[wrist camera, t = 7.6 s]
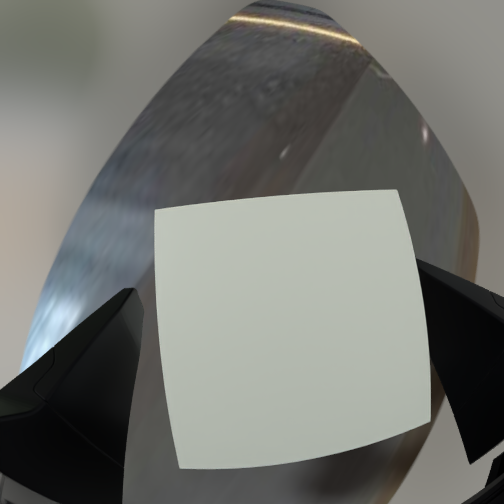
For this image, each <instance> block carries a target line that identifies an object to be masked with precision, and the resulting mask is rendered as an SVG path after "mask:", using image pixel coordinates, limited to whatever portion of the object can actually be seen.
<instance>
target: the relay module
mask: <svg viewBox="0 0 504 504" xmlns="http://www.w3.org/2000/svg"><path fill="white" fill-rule="evenodd" d="M155 281H156V302H157V317H158V330H159V341H160V351H161V360H162V369H163V377H164V384H165V392H166V398H167V405H168V411H169V417H170V423H171V428H172V434H173V439H174V444H175V449H176V453H177V458H178V463H179V467H180V468H181V469H230V468H247V467H259V466H268V465H276V464H284V463H291V462H297V461H303V460H308V459H313V458H318V457H323V456H327V455H332V454H336V453H340V452H344V451H348V450H352V449H355V448H359V447H362V446H366V445H369V444H372V443H375V442H378V441H381V440H384V439H387V438H390V437H393V436H396V435H398V434H401V433H403V432H406V431H409V430H411V429H414V428H416V427H418V426H421V425H423V424H425V423H428V422H430V417H431V381H430V359H429V346H428V335H427V326H426V318H425V310H424V303H423V297H422V291H421V285H420V279H419V274H418V269H417V264H416V259H415V255H414V250H413V246H412V242H411V238H410V234H409V230H408V226H407V222H406V219H405V215H404V211H403V208H402V205H401V201H400V198H399V195H398V192H397V190H368V191H345V192H326V193H310V194H296V195H283V196H271V197H259V198H249V199H239V200H229V201H220V202H211V203H203V204H195V205H187V206H179V207H172V208H164V209H157V210H155Z"/></svg>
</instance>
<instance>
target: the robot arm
mask: <svg viewBox="0 0 504 504" xmlns="http://www.w3.org/2000/svg"><path fill="white" fill-rule="evenodd" d="M415 259H416V264H417V269H418V274H419V279H420V285H421V291H422V297H423V303H424V310H425V318H426V326H427V335H428V346H429V356H430V358H431V360H432V362H433V364H434V367H435V369H436V371H437V374H438V376H439V378H440V381H441V383H442V386H443V388H444V391H445V393H446V396H447V398H448V401H449V403H450V406H451V408H452V411H453V414H454V417H455V420H456V423H457V426H458V429H459V432H460V435H461V438H462V441H463V444H464V448H465V451H466V455H467V458H468V461H469V464H472V463H474V462H475V461H476V460H478V459H480V458H481V457H482V456H484V455H485V454H487V453H488V452H489V451H491V450H492V449H493V448H495V447H496V446H497V445H499V444H500V443H501V442H502V441H504V297H502V296H500V295H498V294H496V293H493V292H491V291H489V290H487V289H485V288H483V287H480V286H478V285H476V284H474V283H472V282H470V281H468V280H465V279H463V278H461V277H459V276H456V275H454V274H452V273H450V272H447V271H445V270H443V269H440V268H438V267H436V266H433V265H431V264H429V263H426V262H424V261H422V260H419V259H417V258H415ZM143 317H144V309H143V306H142V303H141V300H140V298H139V295H138V292H137V290H136V289H135V288H124V289H122V290H121V291H120V292H118V293H117V294H116V295H115V296H113V297H112V298H111V299H110V300H108V301H107V302H106V303H105V304H103V305H102V306H101V307H100V308H98V309H97V310H96V311H95V312H94V313H92V314H91V315H90V316H89V317H87V318H86V319H85V320H84V321H83V322H81V323H80V324H79V325H78V326H77V327H75V328H74V329H73V330H72V331H71V332H70V333H68V334H67V335H66V336H65V337H64V338H62V339H61V340H60V341H59V342H58V343H57V344H56V345H54V347H52V348H51V349H50V350H49V351H47V352H46V353H45V354H44V355H43V356H42V357H41V358H39V359H38V360H37V361H36V362H35V363H33V364H32V365H31V366H30V367H28V368H27V369H26V370H25V371H23V372H22V373H21V374H19V375H18V376H17V377H16V378H14V379H13V380H12V381H11V382H9V383H8V384H7V385H6V386H4V387H3V388H2V389H1V390H0V504H122V496H123V478H124V463H125V452H126V442H127V433H128V425H129V417H130V410H131V403H132V397H133V390H134V384H135V379H136V373H137V367H138V362H139V356H140V349H141V338H142V327H143ZM462 504H504V452H502V453H501V454H500V455H499V456H497V457H496V458H495V459H494V460H493V463H492V466H491V470H490V473H489V476H488V479H487V482H486V485H485V488H484V489H482V490H481V491H479V492H478V493H477V494H475V495H474V496H472V497H471V498H469V499H468V500H466V501H465V502H463V503H462Z"/></svg>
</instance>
